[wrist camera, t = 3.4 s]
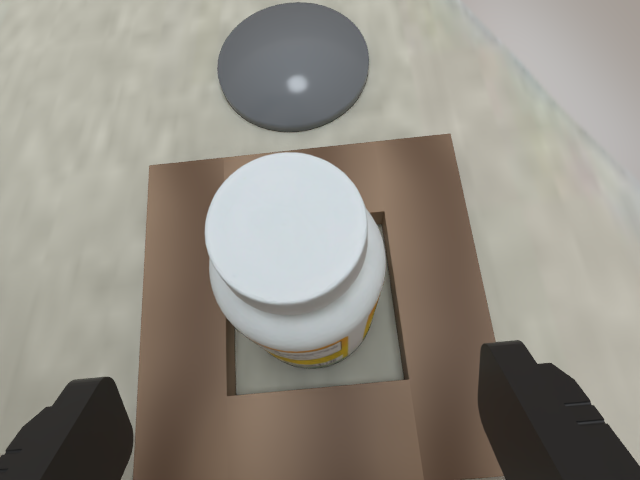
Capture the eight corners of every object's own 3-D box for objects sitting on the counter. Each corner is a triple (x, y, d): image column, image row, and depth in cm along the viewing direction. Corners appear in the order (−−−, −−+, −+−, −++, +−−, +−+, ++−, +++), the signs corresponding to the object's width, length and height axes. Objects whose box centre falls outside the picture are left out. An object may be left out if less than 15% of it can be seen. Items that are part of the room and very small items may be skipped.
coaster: (221, 139, 23) (217, 132, 22) (219, 19, 26) (216, 11, 25) (377, 122, 23) (378, 115, 22) (359, 3, 26) (359, -6, 25)
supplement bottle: (307, 397, 18) (269, 391, 10) (228, 303, 20) (130, 221, 11) (400, 308, 20) (444, 227, 11) (317, 225, 21) (293, 92, 12)
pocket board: (149, 499, 18) (131, 508, 16) (161, 180, 22) (149, 165, 21) (510, 468, 17) (524, 474, 16) (443, 150, 22) (450, 133, 21)
